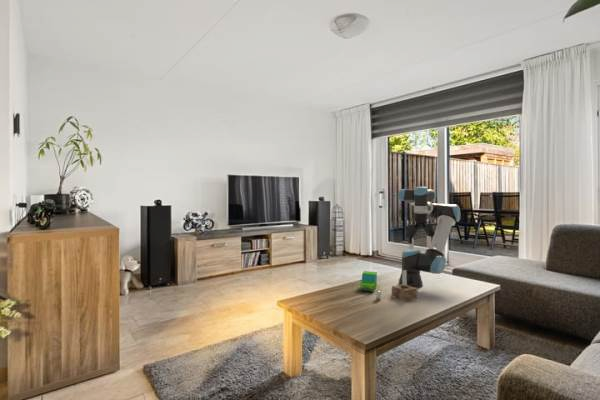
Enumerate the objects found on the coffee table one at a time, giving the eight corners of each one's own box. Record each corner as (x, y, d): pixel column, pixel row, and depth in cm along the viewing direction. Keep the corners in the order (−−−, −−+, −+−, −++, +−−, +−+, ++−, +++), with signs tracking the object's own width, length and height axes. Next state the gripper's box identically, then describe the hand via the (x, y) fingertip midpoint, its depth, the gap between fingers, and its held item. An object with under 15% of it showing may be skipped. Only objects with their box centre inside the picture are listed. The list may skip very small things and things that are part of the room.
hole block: (391, 295, 203) (392, 286, 202) (404, 293, 207) (404, 283, 207) (403, 301, 194) (404, 290, 193) (416, 298, 198) (417, 288, 198)
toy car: (358, 291, 210) (358, 275, 210) (362, 285, 223) (362, 270, 222) (374, 293, 207) (374, 277, 206) (378, 287, 219) (378, 272, 218)
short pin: (375, 299, 196) (375, 291, 196) (378, 299, 197) (378, 290, 197) (378, 301, 194) (378, 292, 193) (381, 300, 195) (381, 291, 195)
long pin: (401, 296, 201) (401, 270, 200) (404, 296, 202) (404, 269, 201) (404, 298, 199) (404, 271, 198) (407, 297, 200) (407, 270, 199)
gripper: (408, 214, 192) (408, 251, 194) (441, 212, 202) (440, 247, 204) (399, 213, 199) (399, 248, 200) (431, 211, 209) (431, 244, 211)
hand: (420, 248), depth 202 cm, fingers open, 13 cm apart
